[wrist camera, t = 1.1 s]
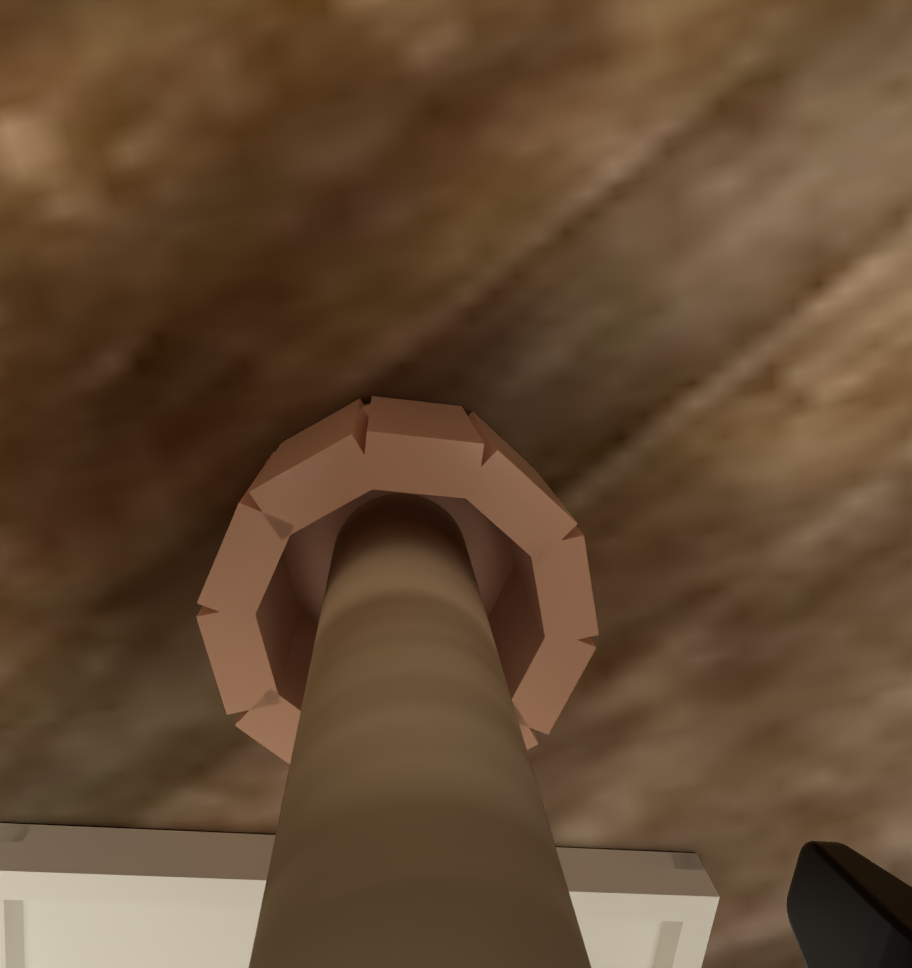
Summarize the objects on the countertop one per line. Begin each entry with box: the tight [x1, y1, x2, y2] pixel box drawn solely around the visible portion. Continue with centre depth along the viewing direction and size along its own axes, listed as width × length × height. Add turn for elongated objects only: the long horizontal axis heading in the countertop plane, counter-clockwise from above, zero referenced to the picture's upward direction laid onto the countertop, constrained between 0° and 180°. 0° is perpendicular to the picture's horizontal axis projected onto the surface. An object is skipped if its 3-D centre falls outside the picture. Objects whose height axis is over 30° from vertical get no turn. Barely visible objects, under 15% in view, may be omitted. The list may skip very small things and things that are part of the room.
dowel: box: [249, 494, 591, 968], centre depth 12 cm, size 3×3×11 cm
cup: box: [196, 396, 599, 764], centre depth 15 cm, size 7×7×4 cm
